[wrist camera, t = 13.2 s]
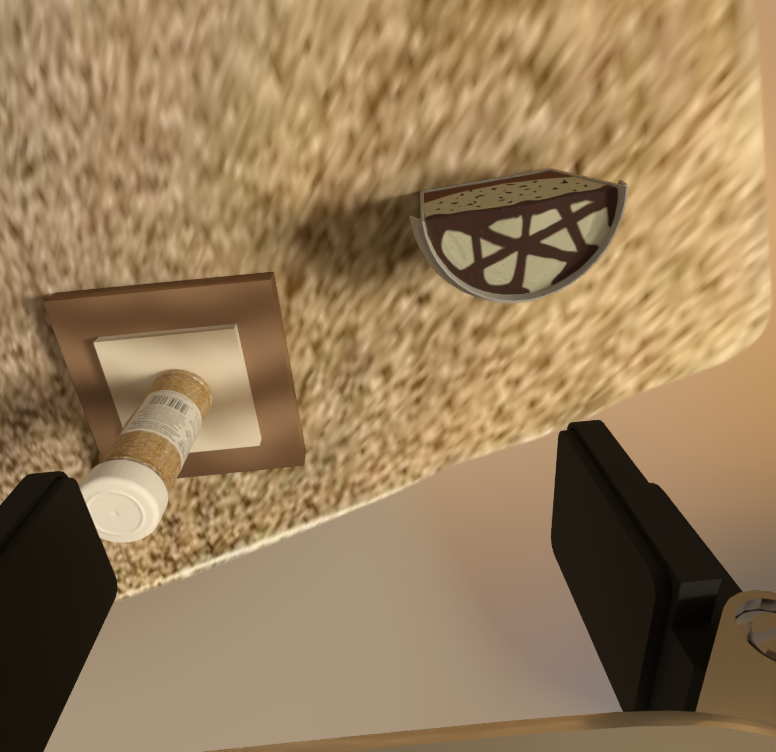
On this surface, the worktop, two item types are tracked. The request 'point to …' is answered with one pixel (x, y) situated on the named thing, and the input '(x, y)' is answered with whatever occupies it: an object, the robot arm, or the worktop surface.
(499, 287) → the food container
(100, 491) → the sprinkles bottle
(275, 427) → the stacking base
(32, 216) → the worktop surface
